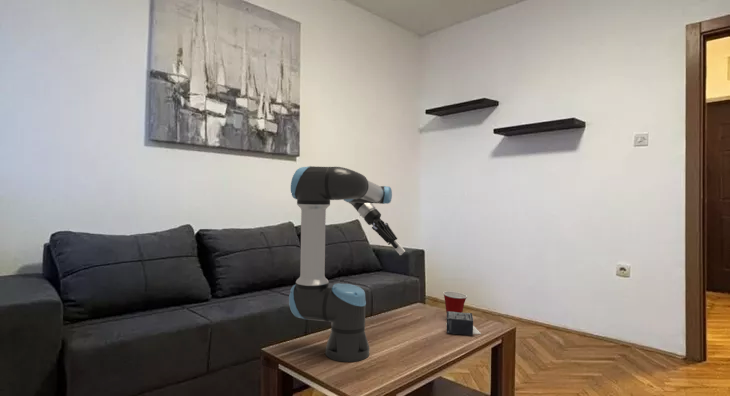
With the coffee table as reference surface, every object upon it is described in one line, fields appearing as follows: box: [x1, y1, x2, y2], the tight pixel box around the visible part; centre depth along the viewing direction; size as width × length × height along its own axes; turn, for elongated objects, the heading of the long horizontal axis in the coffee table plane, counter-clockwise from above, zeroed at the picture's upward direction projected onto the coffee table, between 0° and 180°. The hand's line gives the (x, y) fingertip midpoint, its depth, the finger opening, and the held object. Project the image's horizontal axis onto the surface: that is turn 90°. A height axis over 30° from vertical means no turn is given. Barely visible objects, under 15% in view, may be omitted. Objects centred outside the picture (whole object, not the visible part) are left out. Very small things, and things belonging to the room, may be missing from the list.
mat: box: [445, 322, 482, 335], centre depth 175 cm, size 12×13×1 cm
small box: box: [446, 311, 474, 336], centre depth 171 cm, size 11×6×10 cm
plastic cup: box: [442, 290, 468, 314], centre depth 187 cm, size 11×11×12 cm
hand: (402, 253), depth 183 cm, fingers closed
